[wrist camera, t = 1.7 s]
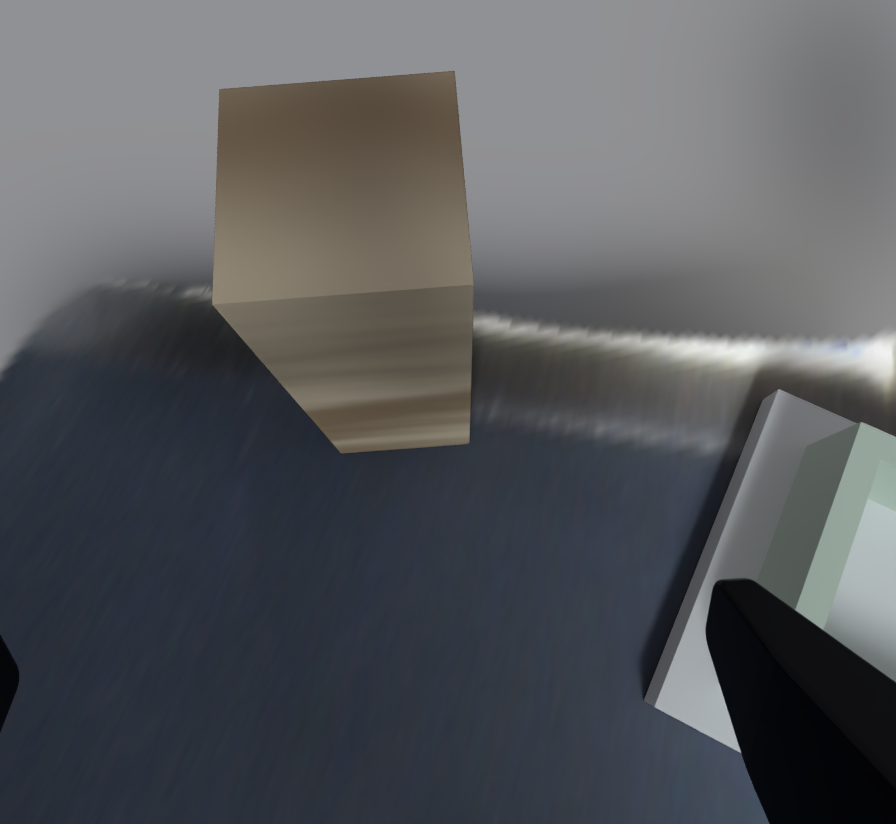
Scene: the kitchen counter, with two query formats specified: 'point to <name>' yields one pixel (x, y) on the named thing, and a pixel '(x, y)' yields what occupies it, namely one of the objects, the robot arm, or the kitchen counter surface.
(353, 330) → the brown box
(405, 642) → the kitchen counter surface
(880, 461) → the caddy
